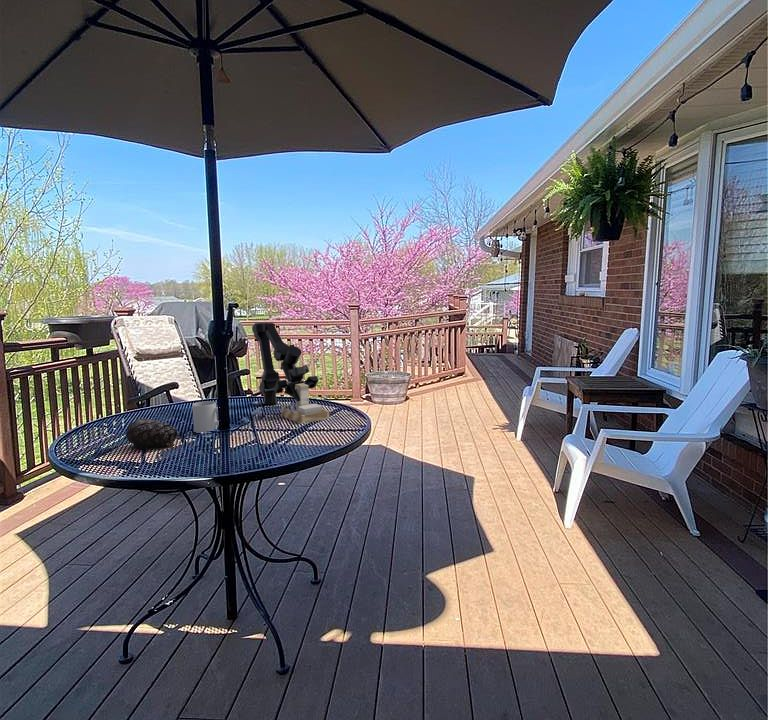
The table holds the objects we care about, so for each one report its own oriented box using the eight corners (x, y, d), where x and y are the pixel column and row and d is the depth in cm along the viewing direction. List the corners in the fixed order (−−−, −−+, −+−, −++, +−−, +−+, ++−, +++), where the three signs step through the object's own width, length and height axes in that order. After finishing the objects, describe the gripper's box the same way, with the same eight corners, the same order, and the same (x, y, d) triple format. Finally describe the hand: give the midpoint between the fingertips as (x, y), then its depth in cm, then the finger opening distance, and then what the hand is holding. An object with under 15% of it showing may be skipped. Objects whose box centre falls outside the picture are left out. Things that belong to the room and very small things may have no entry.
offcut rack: (279, 416, 204) (279, 407, 204) (308, 411, 213) (308, 402, 212) (300, 426, 188) (300, 416, 188) (331, 420, 197) (331, 410, 196)
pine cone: (175, 449, 163) (173, 421, 161) (122, 451, 162) (119, 422, 160) (186, 440, 173) (184, 413, 172) (136, 442, 172) (133, 415, 171)
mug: (190, 434, 180) (187, 406, 179) (200, 428, 189) (198, 401, 187) (221, 434, 179) (219, 406, 178) (229, 428, 188) (228, 401, 186)
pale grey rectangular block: (296, 414, 203) (295, 384, 201) (303, 413, 205) (302, 383, 203) (301, 416, 199) (300, 385, 197) (309, 415, 201) (308, 385, 199)
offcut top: (298, 412, 196) (297, 406, 196) (315, 409, 201) (315, 403, 200) (304, 415, 191) (304, 409, 191) (322, 412, 196) (322, 406, 196)
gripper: (275, 361, 196) (288, 391, 189) (315, 357, 207) (329, 385, 200) (268, 378, 204) (280, 407, 196) (308, 373, 215) (320, 401, 207)
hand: (303, 400), depth 200 cm, fingers closed on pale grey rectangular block, 4 cm apart
